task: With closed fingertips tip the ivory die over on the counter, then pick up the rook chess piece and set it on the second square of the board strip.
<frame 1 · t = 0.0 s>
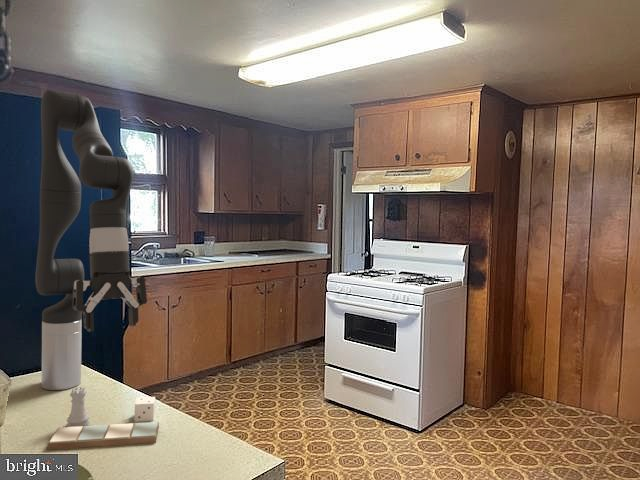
hand: (112, 328, 102), 22 cm above the counter, tool pointing down, fingers open, 8 cm apart
board: (106, 437, 101), on the counter
rook chess piece: (77, 426, 107), on the counter
die: (145, 417, 112), on the counter
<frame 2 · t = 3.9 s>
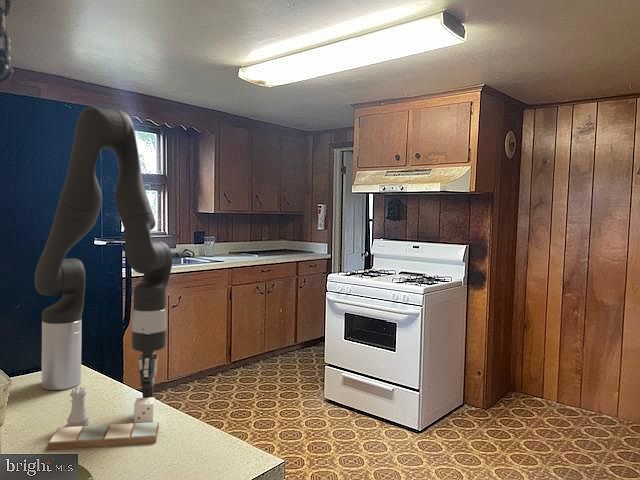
hand: (147, 401, 115), 3 cm above the counter, tool pointing down, fingers closed
die: (144, 418, 111), on the counter, touching gripper
everything else where it was.
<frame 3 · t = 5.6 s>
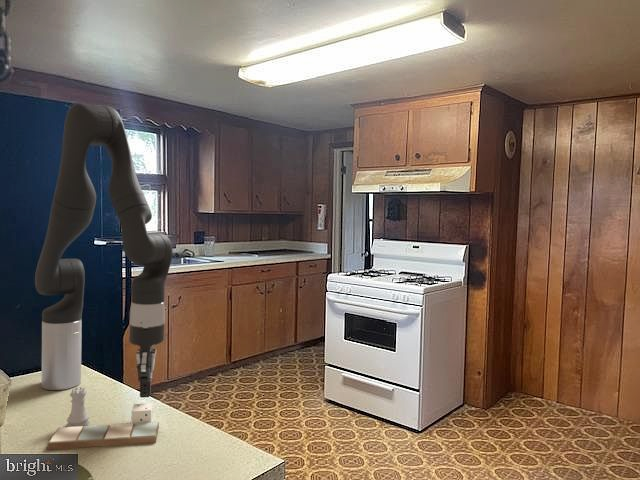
hand: (145, 396, 112), 5 cm above the counter, tool pointing down, fingers closed
die: (142, 424, 108), on the counter
everything else where it was.
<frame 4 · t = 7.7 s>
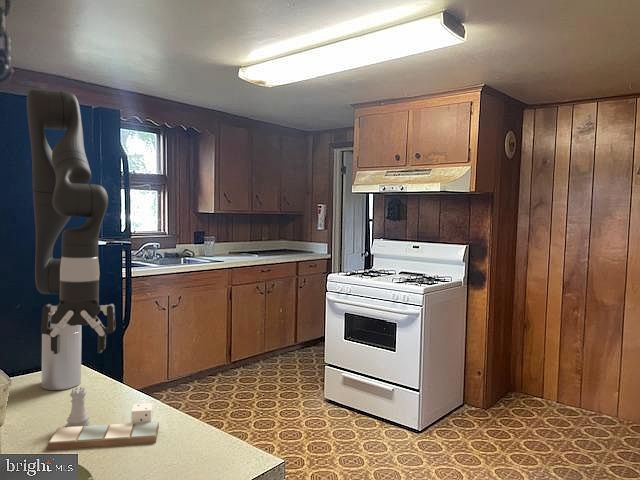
hand: (78, 352, 106), 16 cm above the counter, tool pointing down, fingers open, 8 cm apart
nothing on the counter moved.
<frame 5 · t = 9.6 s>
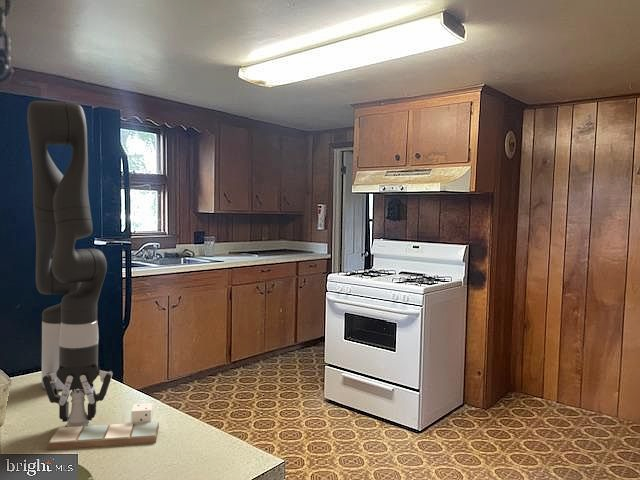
hand: (78, 419, 106), 1 cm above the counter, tool pointing down, fingers closed on rook chess piece, 4 cm apart
rook chess piece: (77, 426, 107), on the counter, touching gripper
everything else where it was.
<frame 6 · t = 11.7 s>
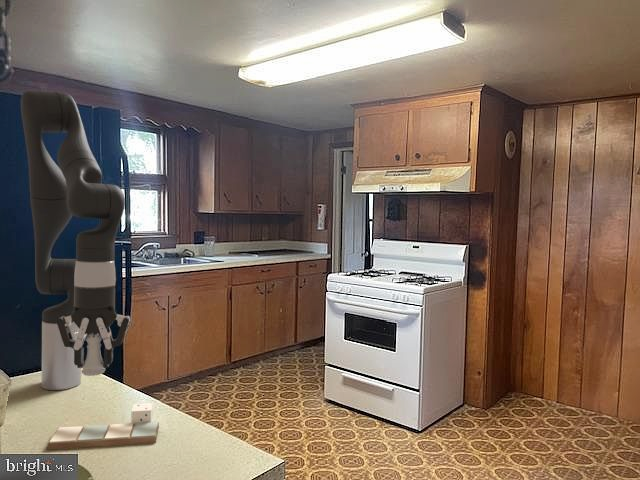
hand: (93, 366, 100), 15 cm above the counter, tool pointing down, fingers closed on rook chess piece, 4 cm apart
rook chess piece: (93, 373, 100), point 14 cm above the counter, touching gripper
everything else where it was.
when the fingers open (4 cm above the counter, at t = 14.1 s): rook chess piece drops 1 cm, resting on board.
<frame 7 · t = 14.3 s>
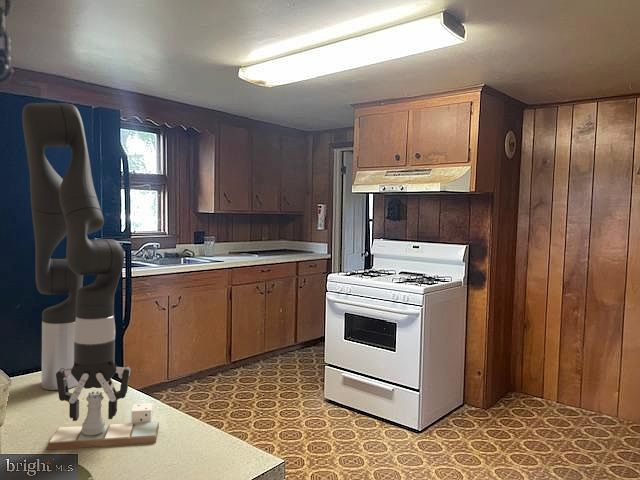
hand: (93, 418, 101), 4 cm above the counter, tool pointing down, fingers open, 6 cm apart
rook chess piece: (93, 432, 101), point 1 cm above the counter, touching board
everything else where it was.
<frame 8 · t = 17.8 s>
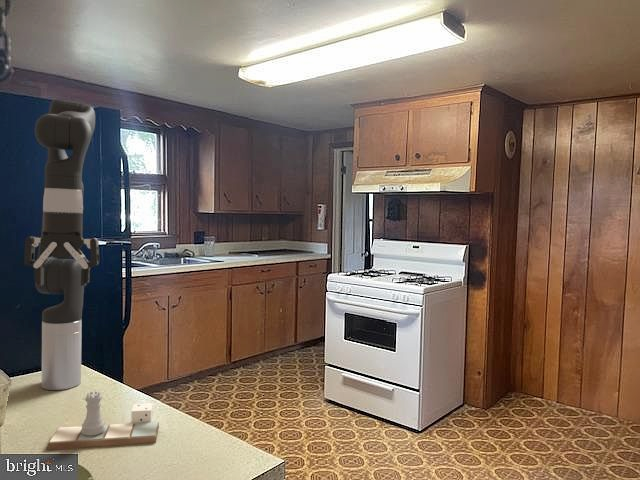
hand: (62, 285, 106), 30 cm above the counter, tool pointing down, fingers open, 8 cm apart
nothing on the counter moved.
at the end: rook chess piece 0.1 cm from the target spot on the board, point 1.2 cm above the board's base; rook chess piece tilted 0°; die moved 3.8 cm from its start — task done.
